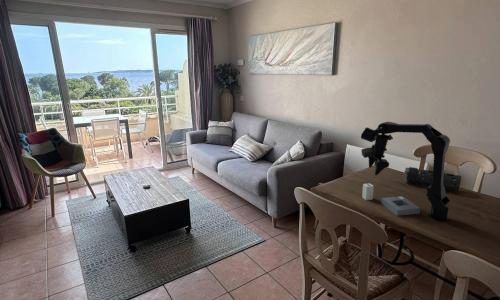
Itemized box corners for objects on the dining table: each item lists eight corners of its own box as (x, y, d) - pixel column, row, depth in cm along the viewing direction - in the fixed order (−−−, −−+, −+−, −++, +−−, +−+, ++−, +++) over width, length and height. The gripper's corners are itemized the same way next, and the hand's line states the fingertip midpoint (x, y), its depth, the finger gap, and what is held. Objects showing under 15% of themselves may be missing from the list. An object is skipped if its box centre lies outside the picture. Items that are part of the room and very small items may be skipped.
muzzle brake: (457, 195, 157) (460, 178, 154) (402, 184, 175) (404, 168, 172) (459, 189, 164) (462, 173, 161) (406, 179, 182) (407, 164, 179)
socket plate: (419, 213, 139) (420, 207, 138) (396, 215, 138) (397, 209, 137) (401, 201, 152) (402, 195, 151) (381, 203, 151) (381, 197, 150)
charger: (372, 199, 156) (373, 185, 154) (365, 200, 155) (366, 186, 153) (368, 196, 160) (370, 183, 157) (362, 197, 159) (363, 183, 157)
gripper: (359, 137, 157) (353, 162, 163) (371, 150, 140) (363, 177, 146) (379, 139, 157) (372, 164, 163) (393, 152, 140) (385, 179, 146)
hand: (372, 171), depth 155 cm, fingers open, 9 cm apart
